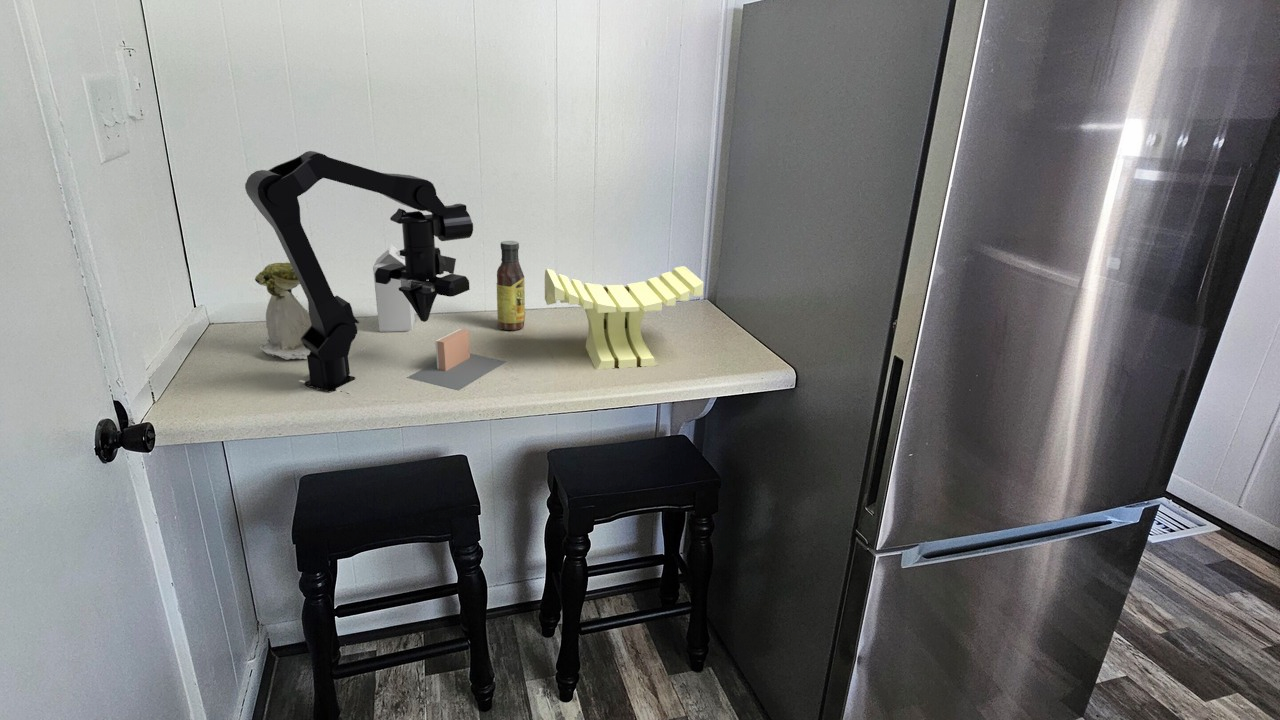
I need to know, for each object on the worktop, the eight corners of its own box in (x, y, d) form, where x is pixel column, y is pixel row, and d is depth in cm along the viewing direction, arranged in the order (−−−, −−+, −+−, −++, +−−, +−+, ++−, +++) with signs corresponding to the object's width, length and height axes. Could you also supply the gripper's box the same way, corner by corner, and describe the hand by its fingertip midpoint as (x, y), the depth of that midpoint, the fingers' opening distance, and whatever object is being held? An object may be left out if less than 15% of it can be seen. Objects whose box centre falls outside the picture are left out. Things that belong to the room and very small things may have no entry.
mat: (458, 392, 132) (458, 390, 132) (406, 379, 136) (406, 377, 136) (506, 363, 146) (506, 361, 145) (458, 352, 150) (457, 350, 150)
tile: (445, 371, 139) (443, 342, 137) (437, 369, 140) (435, 340, 138) (470, 357, 146) (468, 330, 144) (462, 355, 147) (460, 328, 145)
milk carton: (379, 332, 158) (370, 248, 151) (383, 322, 165) (375, 241, 157) (412, 331, 160) (405, 248, 152) (415, 321, 166) (408, 240, 159)
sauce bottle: (522, 332, 163) (521, 246, 155) (495, 331, 163) (492, 245, 155) (527, 322, 169) (526, 240, 161) (500, 321, 169) (498, 238, 161)
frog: (282, 367, 139) (268, 275, 132) (249, 350, 146) (234, 262, 139) (339, 350, 148) (328, 264, 141) (305, 335, 155) (293, 252, 148)
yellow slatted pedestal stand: (675, 337, 164) (680, 262, 157) (697, 364, 150) (703, 282, 143) (544, 343, 157) (544, 264, 150) (554, 372, 143) (554, 286, 136)
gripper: (484, 242, 140) (487, 317, 146) (408, 230, 147) (413, 302, 153) (449, 254, 131) (453, 333, 137) (369, 240, 137) (376, 317, 143)
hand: (424, 320), depth 142 cm, fingers closed
